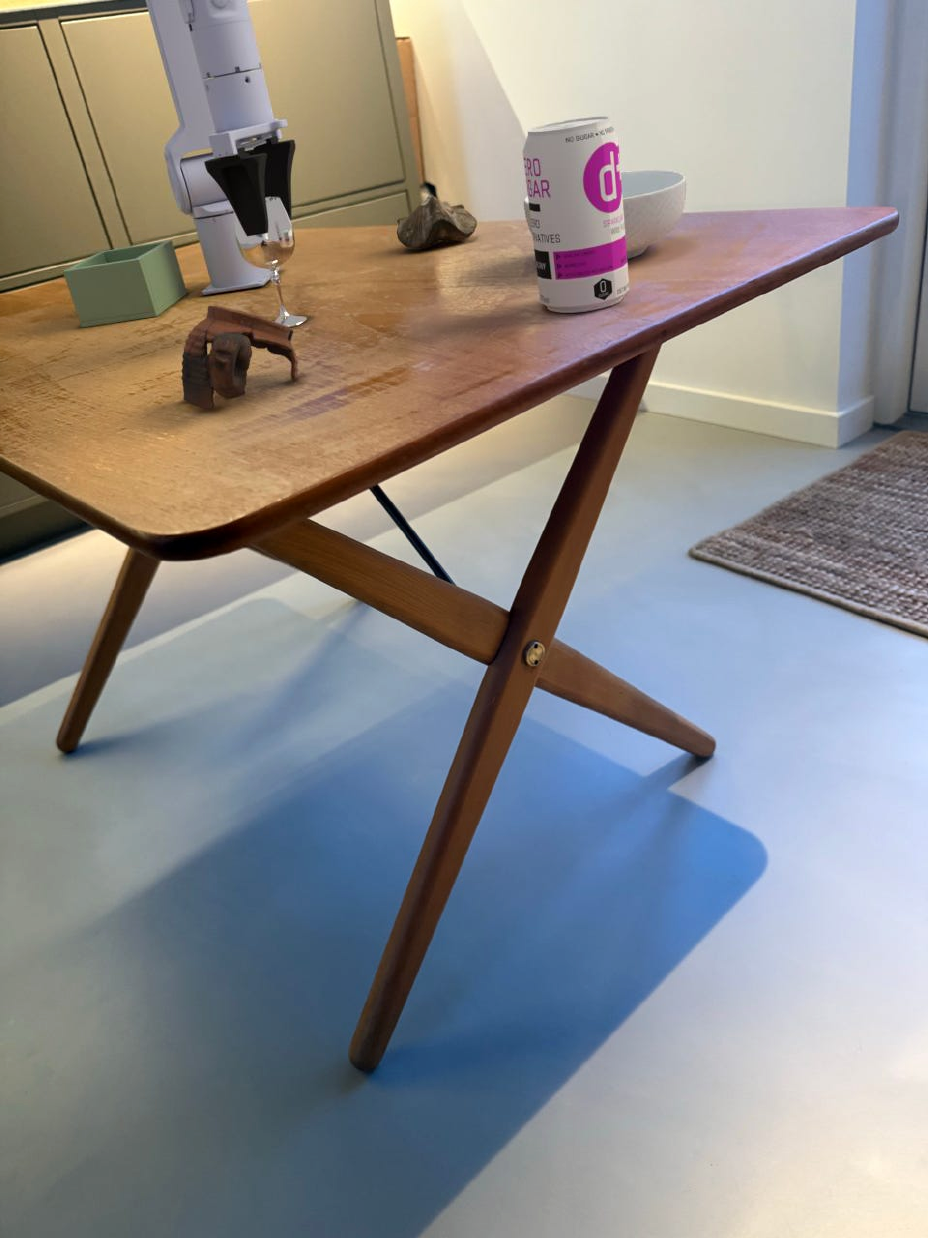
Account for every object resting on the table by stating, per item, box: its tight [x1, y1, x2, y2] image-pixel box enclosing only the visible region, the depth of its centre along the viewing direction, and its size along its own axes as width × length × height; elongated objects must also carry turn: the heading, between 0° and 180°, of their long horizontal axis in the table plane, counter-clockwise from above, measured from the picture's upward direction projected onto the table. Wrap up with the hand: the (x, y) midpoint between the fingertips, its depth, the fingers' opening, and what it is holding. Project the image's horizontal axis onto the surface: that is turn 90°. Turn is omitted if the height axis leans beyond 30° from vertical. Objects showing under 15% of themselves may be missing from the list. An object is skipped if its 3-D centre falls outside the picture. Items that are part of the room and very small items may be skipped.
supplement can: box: [522, 115, 630, 314], centre depth 89 cm, size 8×8×15 cm
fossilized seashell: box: [396, 194, 478, 250], centre depth 129 cm, size 8×7×10 cm
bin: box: [62, 239, 188, 328], centre depth 123 cm, size 12×10×7 cm
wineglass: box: [234, 197, 308, 328], centre depth 102 cm, size 6×6×12 cm
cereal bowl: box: [523, 169, 687, 260], centre depth 107 cm, size 17×17×7 cm
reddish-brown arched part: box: [180, 305, 299, 411], centre depth 83 cm, size 12×10×8 cm
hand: (269, 227), depth 100 cm, fingers open, 7 cm apart
